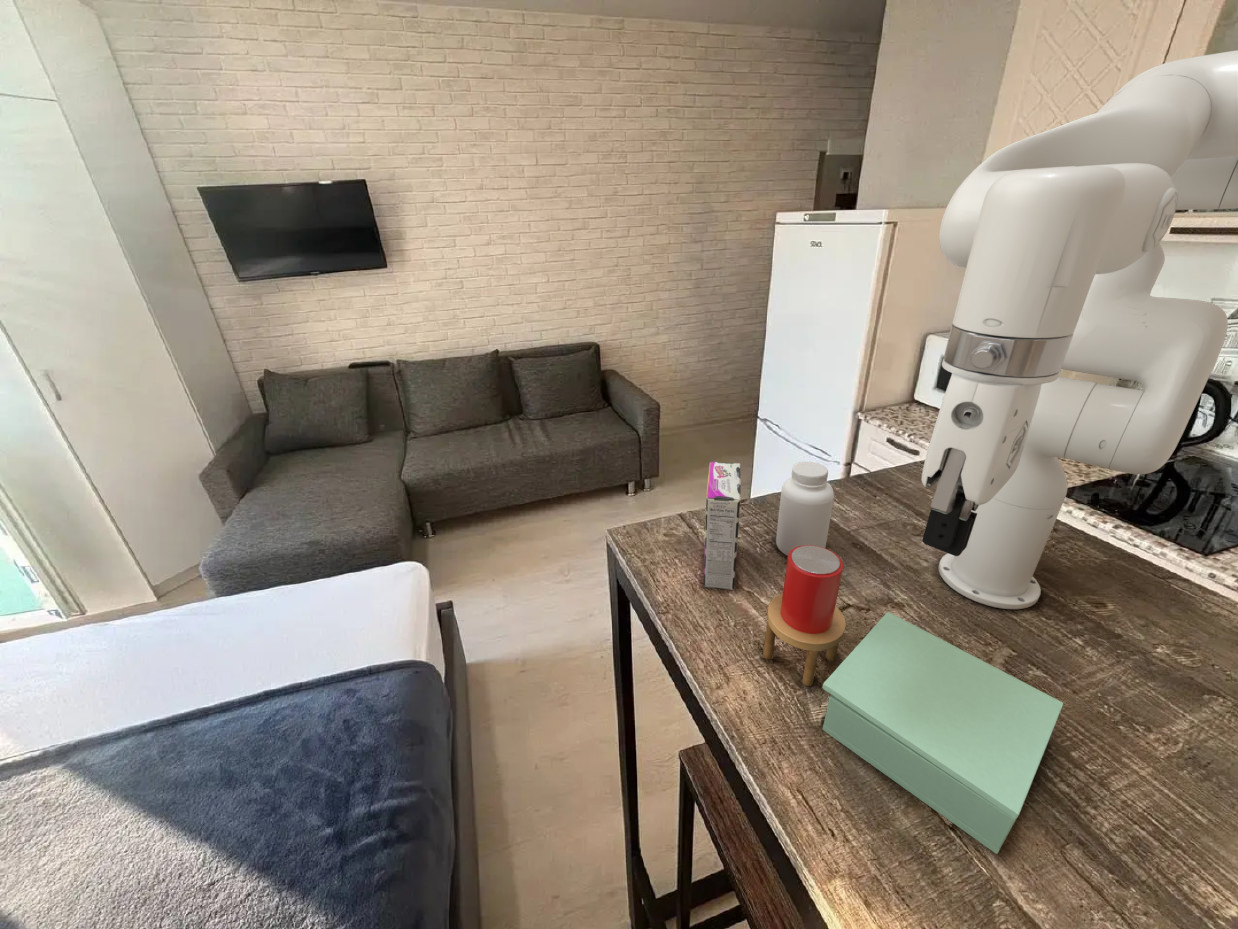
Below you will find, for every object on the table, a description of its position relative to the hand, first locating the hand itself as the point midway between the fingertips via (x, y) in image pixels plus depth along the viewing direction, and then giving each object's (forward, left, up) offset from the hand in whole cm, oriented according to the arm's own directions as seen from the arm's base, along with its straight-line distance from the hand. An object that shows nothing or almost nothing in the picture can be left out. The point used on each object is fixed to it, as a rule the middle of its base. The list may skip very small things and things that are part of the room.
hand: (943, 546), depth 48 cm
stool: (0, -11, -23) cm, 26 cm away
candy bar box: (-6, -30, -23) cm, 39 cm away
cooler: (0, +4, -23) cm, 23 cm away
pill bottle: (-20, -24, -23) cm, 39 cm away
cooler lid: (0, +4, -18) cm, 18 cm away
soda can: (0, -11, -16) cm, 20 cm away
